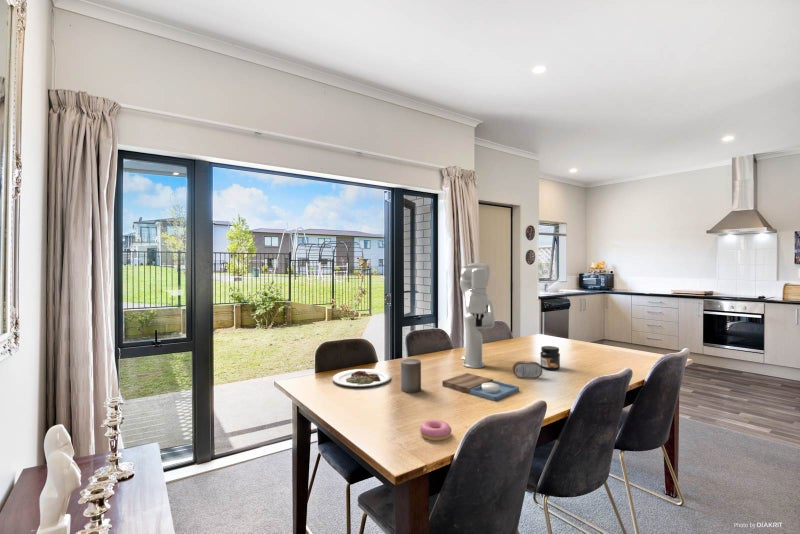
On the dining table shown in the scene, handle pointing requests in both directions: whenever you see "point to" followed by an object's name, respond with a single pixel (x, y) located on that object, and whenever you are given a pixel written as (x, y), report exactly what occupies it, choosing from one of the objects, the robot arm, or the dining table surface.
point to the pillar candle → (411, 375)
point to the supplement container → (550, 358)
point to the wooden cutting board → (465, 382)
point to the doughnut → (435, 430)
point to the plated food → (361, 377)
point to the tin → (527, 369)
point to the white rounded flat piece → (490, 387)
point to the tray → (503, 392)
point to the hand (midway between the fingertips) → (478, 326)
